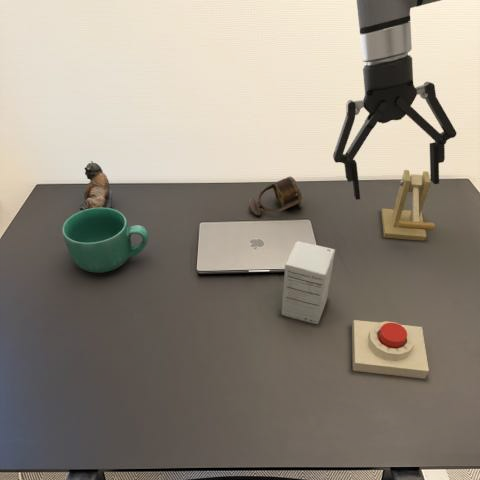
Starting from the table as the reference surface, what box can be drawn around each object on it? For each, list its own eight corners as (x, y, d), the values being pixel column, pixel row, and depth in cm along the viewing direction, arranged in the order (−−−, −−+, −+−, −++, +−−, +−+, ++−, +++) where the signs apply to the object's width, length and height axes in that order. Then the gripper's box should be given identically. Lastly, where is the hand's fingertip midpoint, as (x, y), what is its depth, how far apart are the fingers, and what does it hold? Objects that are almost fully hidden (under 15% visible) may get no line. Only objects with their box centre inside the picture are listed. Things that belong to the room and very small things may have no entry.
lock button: (403, 330, 81) (406, 323, 80) (405, 350, 78) (408, 343, 77) (377, 328, 82) (379, 321, 80) (378, 347, 79) (381, 340, 77)
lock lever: (431, 233, 96) (435, 226, 94) (396, 230, 97) (399, 223, 95) (429, 183, 102) (433, 175, 99) (396, 181, 102) (399, 173, 100)
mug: (65, 278, 96) (51, 241, 89) (85, 241, 105) (74, 205, 98) (144, 284, 95) (136, 247, 88) (158, 246, 104) (152, 209, 97)
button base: (418, 334, 85) (424, 319, 82) (425, 379, 78) (432, 364, 75) (351, 327, 86) (355, 312, 84) (352, 370, 80) (356, 355, 77)
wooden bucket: (307, 200, 106) (305, 169, 111) (251, 196, 105) (251, 165, 110) (301, 222, 112) (299, 192, 117) (248, 218, 111) (248, 188, 117)
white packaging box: (291, 290, 93) (296, 239, 84) (327, 300, 92) (337, 248, 82) (279, 315, 89) (283, 264, 80) (317, 326, 87) (326, 274, 78)
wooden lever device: (425, 241, 104) (442, 189, 95) (383, 237, 105) (397, 186, 96) (419, 215, 111) (436, 165, 102) (381, 212, 112) (393, 162, 103)
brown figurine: (110, 224, 109) (101, 186, 102) (79, 226, 109) (68, 187, 102) (115, 197, 118) (107, 159, 110) (87, 198, 117) (76, 160, 110)
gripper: (462, 37, 75) (461, 169, 86) (307, 76, 80) (324, 197, 90) (478, 38, 69) (475, 180, 79) (309, 80, 73) (327, 210, 84)
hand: (395, 189), depth 85 cm, fingers open, 13 cm apart
